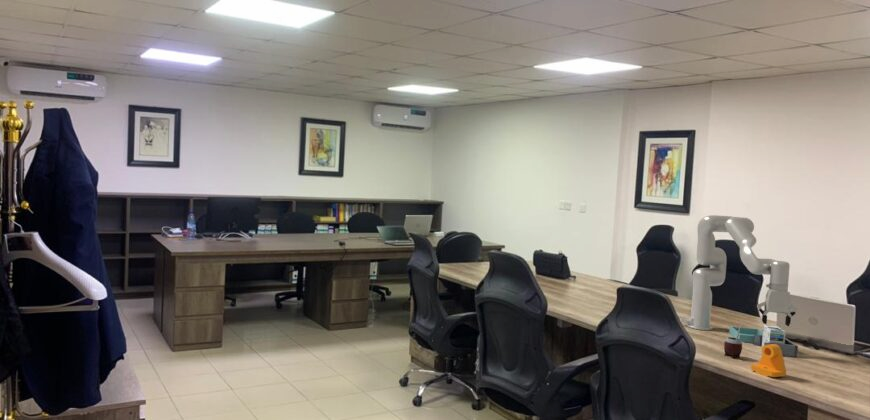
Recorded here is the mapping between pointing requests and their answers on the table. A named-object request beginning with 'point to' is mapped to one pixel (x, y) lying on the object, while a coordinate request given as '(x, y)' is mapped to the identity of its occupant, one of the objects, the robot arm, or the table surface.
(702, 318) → the robot arm
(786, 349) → the tray
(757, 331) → the tray
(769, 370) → the bracket
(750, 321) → the table surface
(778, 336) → the light bulb box
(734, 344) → the mate gourd
